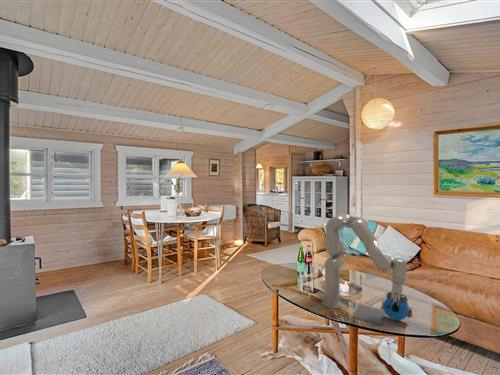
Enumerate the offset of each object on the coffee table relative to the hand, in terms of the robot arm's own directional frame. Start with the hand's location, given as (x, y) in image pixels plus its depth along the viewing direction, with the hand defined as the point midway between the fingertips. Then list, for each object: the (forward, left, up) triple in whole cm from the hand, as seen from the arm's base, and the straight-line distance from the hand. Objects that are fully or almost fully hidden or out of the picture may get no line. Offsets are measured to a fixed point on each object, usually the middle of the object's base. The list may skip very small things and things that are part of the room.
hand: (396, 308), depth 176 cm
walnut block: (+6, +13, -7) cm, 16 cm away
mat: (-14, -1, -7) cm, 16 cm away
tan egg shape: (-7, +15, -7) cm, 18 cm away
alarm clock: (0, 0, -6) cm, 6 cm away
